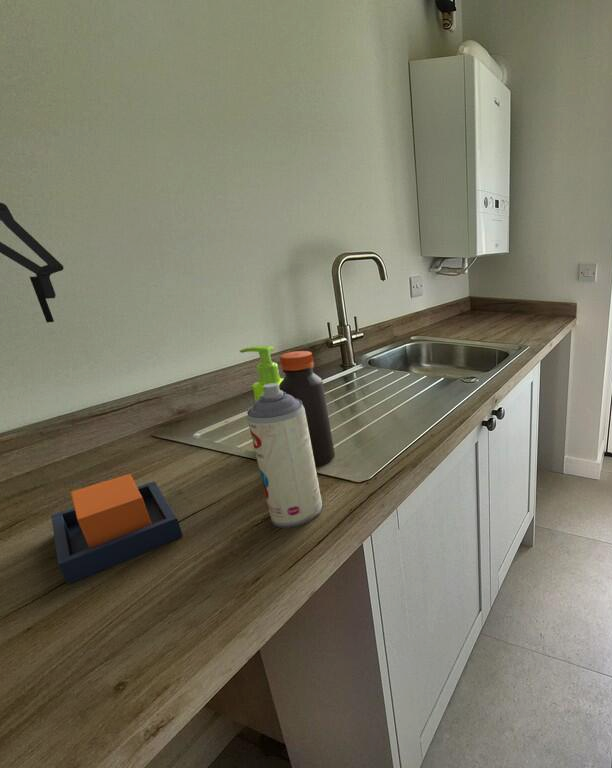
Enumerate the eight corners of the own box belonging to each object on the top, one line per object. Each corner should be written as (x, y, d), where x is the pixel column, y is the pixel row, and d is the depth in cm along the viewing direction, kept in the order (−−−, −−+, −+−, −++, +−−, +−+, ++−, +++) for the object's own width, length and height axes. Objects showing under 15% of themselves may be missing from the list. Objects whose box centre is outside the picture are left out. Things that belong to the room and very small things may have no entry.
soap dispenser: (272, 438, 83) (251, 343, 77) (305, 438, 83) (287, 343, 77) (254, 452, 78) (230, 350, 71) (290, 452, 78) (269, 351, 71)
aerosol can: (273, 505, 62) (244, 381, 55) (322, 494, 65) (300, 374, 58) (269, 533, 56) (236, 397, 50) (323, 519, 59) (298, 389, 52)
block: (84, 525, 56) (70, 491, 54) (141, 505, 61) (129, 473, 59) (92, 556, 51) (77, 519, 49) (154, 532, 55) (142, 497, 53)
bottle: (291, 457, 76) (270, 353, 70) (330, 447, 80) (313, 347, 73) (298, 472, 71) (276, 362, 64) (339, 461, 75) (321, 355, 68)
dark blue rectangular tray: (59, 533, 56) (51, 514, 55) (160, 497, 64) (154, 480, 63) (67, 585, 48) (58, 564, 47) (183, 536, 56) (177, 518, 55)
